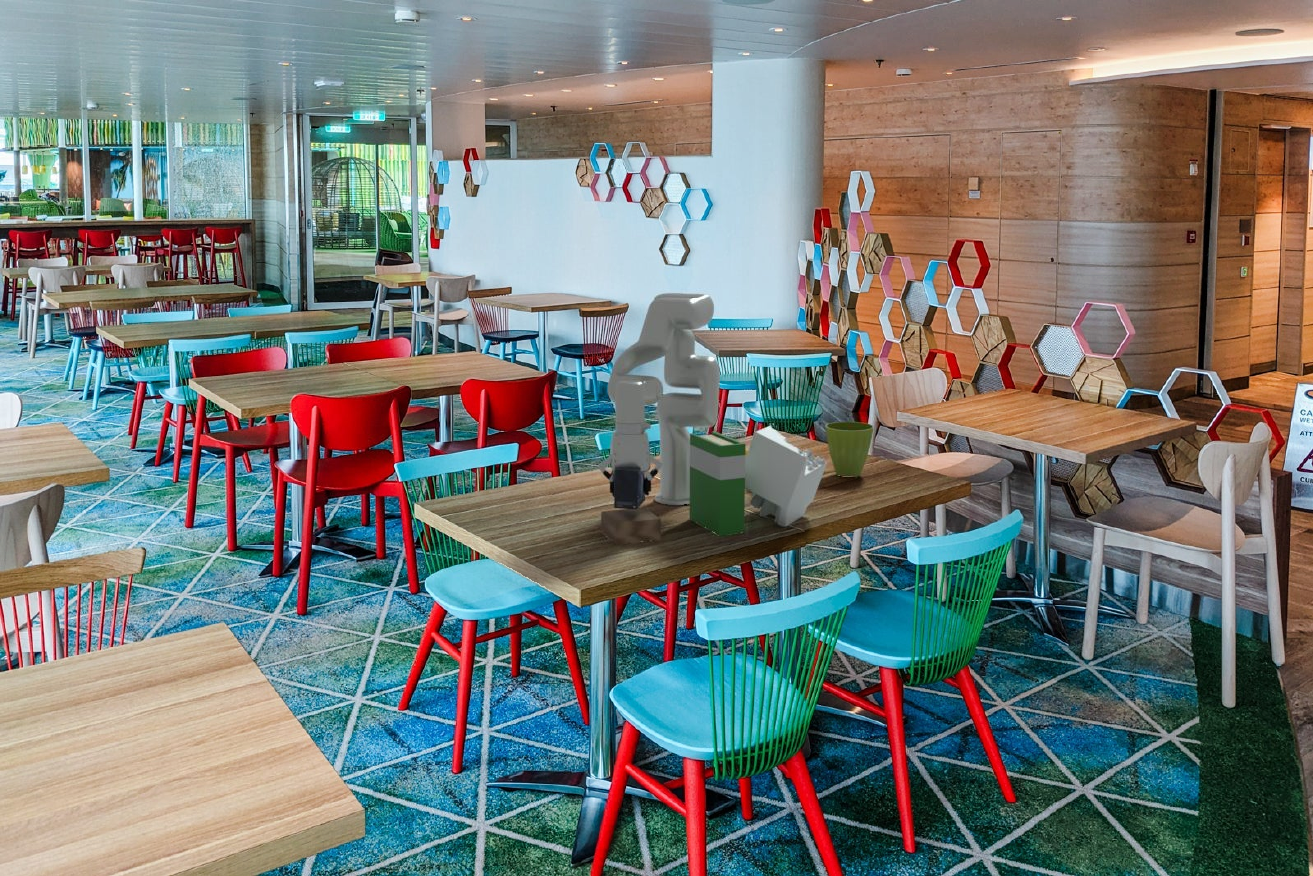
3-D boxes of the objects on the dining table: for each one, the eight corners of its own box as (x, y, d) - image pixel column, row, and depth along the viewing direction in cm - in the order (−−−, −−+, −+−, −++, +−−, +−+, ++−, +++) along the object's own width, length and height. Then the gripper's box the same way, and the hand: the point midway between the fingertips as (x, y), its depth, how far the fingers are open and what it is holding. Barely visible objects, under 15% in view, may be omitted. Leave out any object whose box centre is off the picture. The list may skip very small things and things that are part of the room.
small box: (638, 510, 294) (638, 470, 291) (613, 509, 295) (613, 468, 293) (646, 499, 304) (646, 461, 302) (622, 498, 305) (622, 459, 303)
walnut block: (644, 529, 309) (644, 507, 308) (660, 541, 298) (660, 518, 297) (601, 533, 304) (601, 511, 303) (616, 546, 294) (616, 523, 292)
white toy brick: (758, 496, 331) (787, 418, 321) (806, 521, 324) (837, 443, 315) (725, 513, 314) (754, 431, 304) (775, 540, 307) (806, 458, 298)
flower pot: (823, 480, 361) (824, 429, 358) (824, 469, 375) (825, 420, 372) (872, 481, 358) (873, 431, 355) (871, 470, 373) (873, 422, 370)
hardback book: (689, 519, 317) (690, 433, 312) (713, 516, 320) (714, 431, 315) (719, 536, 301) (720, 446, 296) (744, 532, 304) (745, 443, 299)
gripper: (661, 424, 300) (661, 490, 304) (594, 426, 298) (595, 492, 301) (666, 430, 293) (666, 497, 296) (597, 432, 290) (598, 500, 294)
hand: (630, 494), depth 299 cm, fingers closed on small box, 8 cm apart
